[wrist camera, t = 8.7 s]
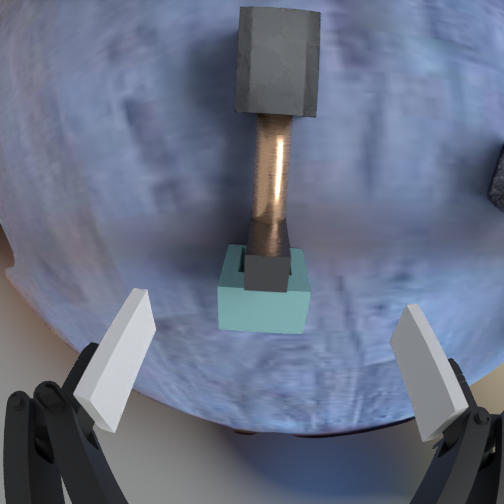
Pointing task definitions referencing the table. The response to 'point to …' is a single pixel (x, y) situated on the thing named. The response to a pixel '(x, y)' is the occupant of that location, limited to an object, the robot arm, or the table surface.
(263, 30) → the sleeve
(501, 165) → the stone
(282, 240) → the hammer
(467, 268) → the table surface
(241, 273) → the socket
